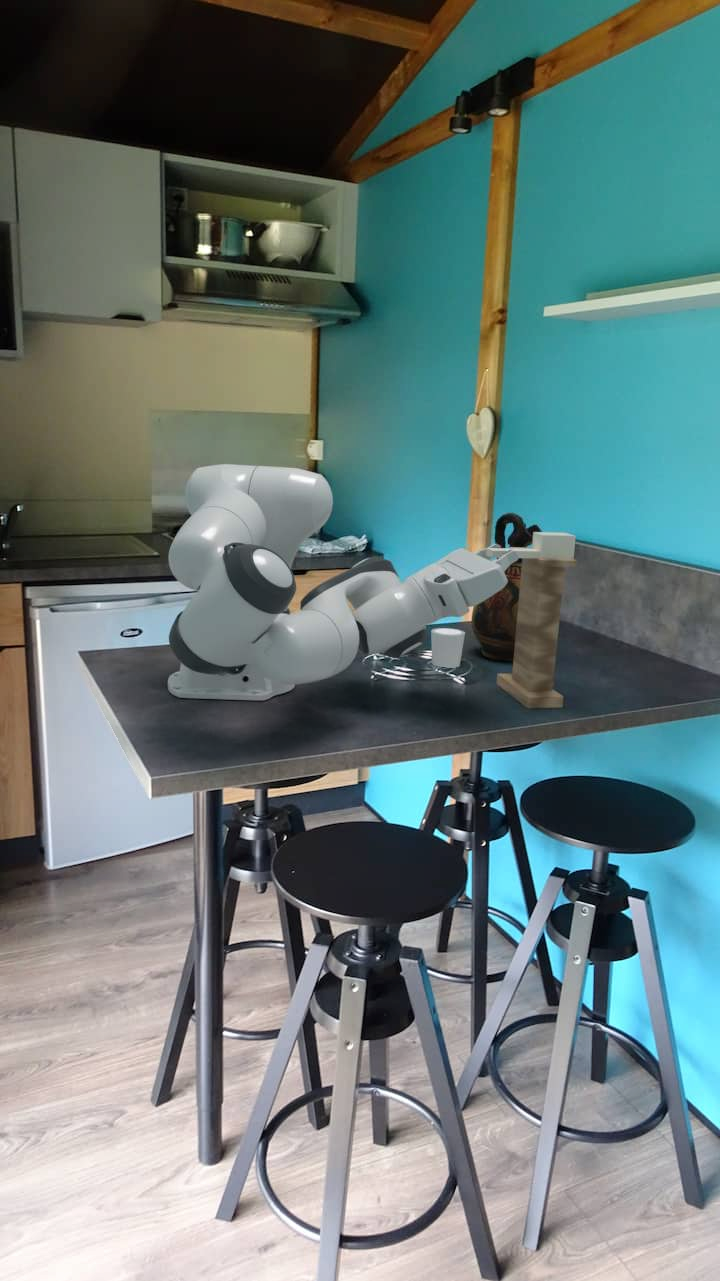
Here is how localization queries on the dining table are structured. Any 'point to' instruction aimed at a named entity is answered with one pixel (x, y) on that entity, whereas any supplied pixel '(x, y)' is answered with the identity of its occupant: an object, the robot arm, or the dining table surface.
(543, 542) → the white block with handle
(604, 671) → the dining table surface
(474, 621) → the ceramic jug
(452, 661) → the white cylinder
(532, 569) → the wooden post with base
